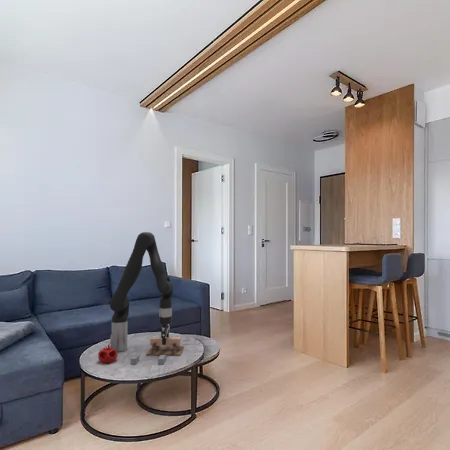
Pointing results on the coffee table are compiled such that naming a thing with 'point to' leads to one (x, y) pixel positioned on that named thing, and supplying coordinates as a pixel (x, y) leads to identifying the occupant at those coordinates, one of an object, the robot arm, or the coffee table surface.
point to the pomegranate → (107, 355)
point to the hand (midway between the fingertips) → (165, 342)
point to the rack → (165, 350)
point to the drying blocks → (160, 360)
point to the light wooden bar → (168, 341)
